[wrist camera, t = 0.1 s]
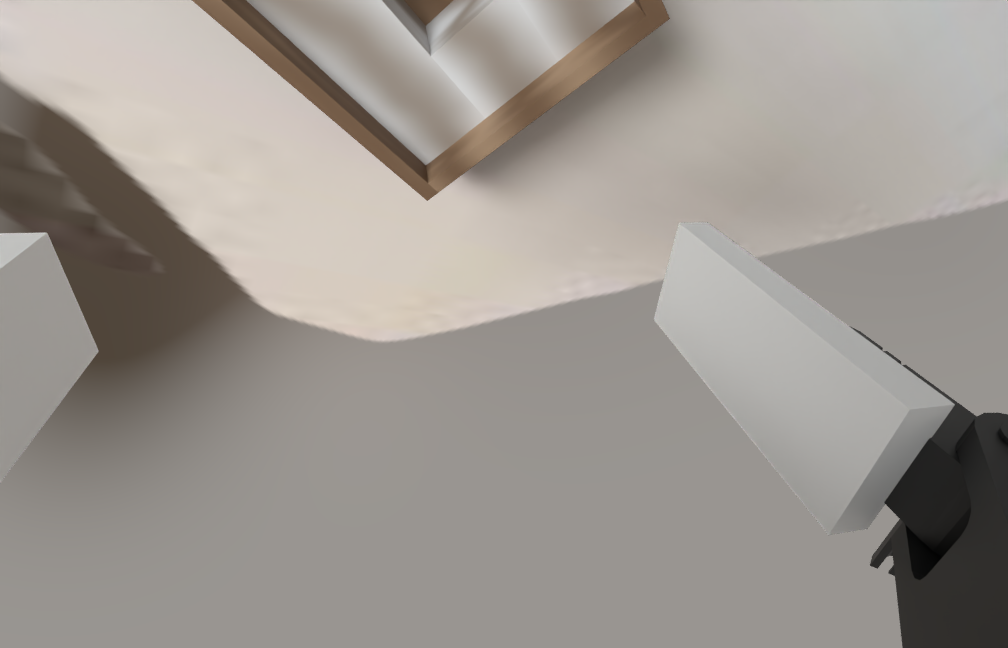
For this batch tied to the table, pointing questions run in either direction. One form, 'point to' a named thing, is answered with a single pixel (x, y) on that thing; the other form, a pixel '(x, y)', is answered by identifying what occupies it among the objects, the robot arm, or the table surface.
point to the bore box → (436, 67)
